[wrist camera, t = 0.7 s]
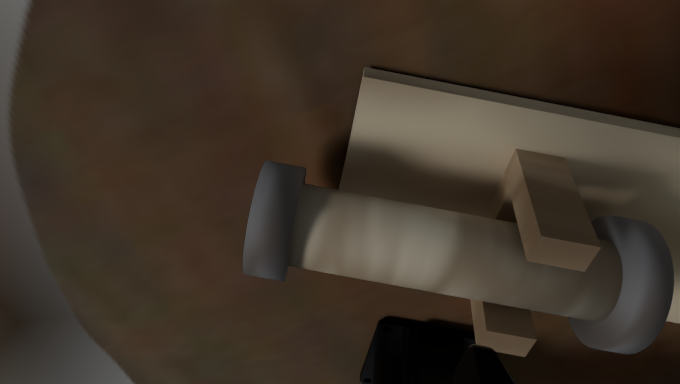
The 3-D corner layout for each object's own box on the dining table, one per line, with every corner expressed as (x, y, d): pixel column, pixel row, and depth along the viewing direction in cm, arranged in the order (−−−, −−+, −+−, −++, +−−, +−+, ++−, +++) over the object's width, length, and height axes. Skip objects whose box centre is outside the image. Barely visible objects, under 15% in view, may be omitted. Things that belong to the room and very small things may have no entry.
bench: (819, 337, 27) (901, 450, 23) (326, 246, 26) (311, 345, 22) (1007, 192, 21) (1173, 309, 16) (364, 67, 20) (353, 153, 15)
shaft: (580, 278, 24) (615, 381, 20) (265, 220, 24) (237, 313, 20) (639, 193, 21) (696, 296, 17) (275, 124, 20) (243, 212, 16)
